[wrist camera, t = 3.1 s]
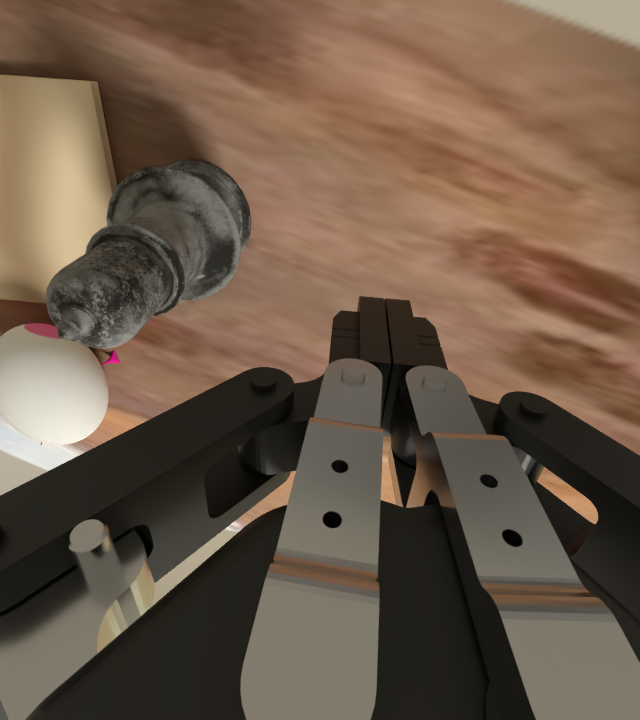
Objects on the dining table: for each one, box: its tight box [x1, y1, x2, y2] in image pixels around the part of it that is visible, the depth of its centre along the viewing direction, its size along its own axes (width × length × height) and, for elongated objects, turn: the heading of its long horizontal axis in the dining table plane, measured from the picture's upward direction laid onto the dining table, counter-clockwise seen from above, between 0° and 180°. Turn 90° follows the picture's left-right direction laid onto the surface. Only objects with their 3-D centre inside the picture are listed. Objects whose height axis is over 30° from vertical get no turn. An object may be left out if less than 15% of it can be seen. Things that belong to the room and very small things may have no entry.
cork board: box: [0, 74, 117, 303], centre depth 22 cm, size 10×11×1 cm
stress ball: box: [0, 323, 120, 446], centre depth 26 cm, size 8×8×7 cm
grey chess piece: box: [46, 160, 251, 348], centre depth 17 cm, size 6×6×12 cm
